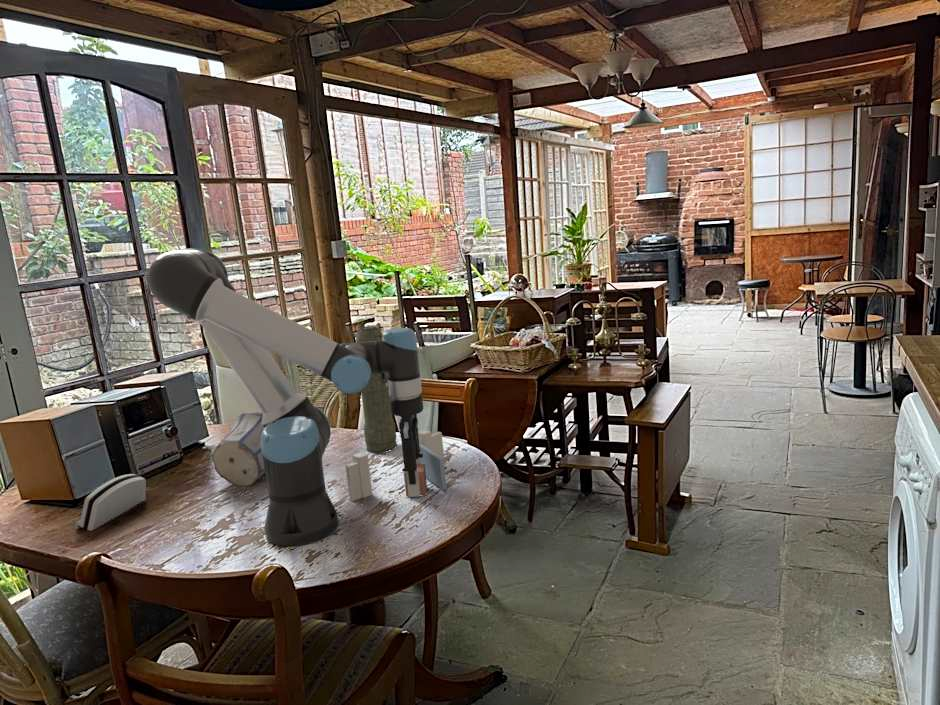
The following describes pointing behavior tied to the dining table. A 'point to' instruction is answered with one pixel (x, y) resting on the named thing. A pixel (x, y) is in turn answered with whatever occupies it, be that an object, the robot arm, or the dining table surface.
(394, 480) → the dining table surface
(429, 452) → the door
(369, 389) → the thermos
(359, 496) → the doorframe
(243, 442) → the potted plant
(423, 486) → the reddish brown block
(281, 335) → the robot arm
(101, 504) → the white napkin holder
